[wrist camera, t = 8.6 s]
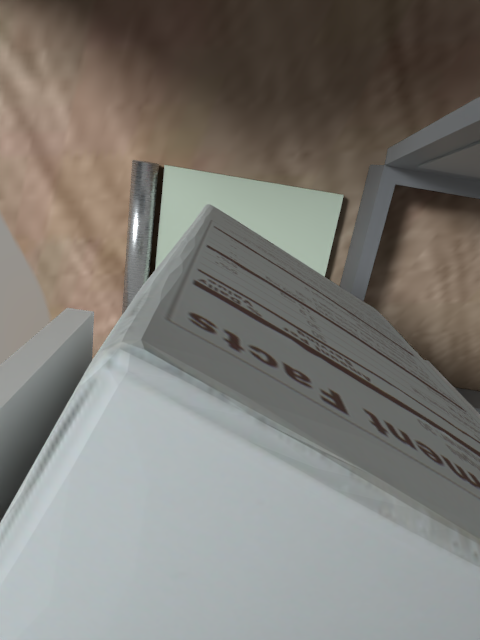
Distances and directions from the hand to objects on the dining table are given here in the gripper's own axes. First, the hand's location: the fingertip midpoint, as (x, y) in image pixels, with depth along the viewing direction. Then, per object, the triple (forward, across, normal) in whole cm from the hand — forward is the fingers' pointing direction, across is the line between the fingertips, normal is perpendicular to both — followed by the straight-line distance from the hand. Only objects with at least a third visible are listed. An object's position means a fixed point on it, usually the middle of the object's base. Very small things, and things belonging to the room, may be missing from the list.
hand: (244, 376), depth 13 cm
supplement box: (+4, 0, 0) cm, 4 cm away
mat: (+14, 0, 0) cm, 14 cm away
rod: (+14, -6, 0) cm, 15 cm away
